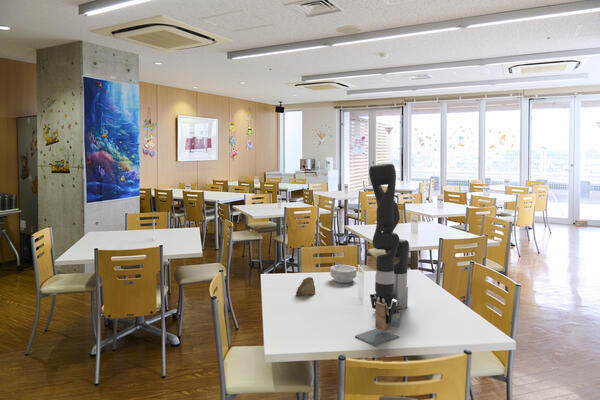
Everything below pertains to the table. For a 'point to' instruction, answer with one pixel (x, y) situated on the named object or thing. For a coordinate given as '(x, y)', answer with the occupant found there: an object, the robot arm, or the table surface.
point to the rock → (306, 287)
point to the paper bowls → (343, 273)
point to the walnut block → (381, 317)
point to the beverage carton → (395, 319)
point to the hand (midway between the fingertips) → (383, 321)
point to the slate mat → (376, 336)
